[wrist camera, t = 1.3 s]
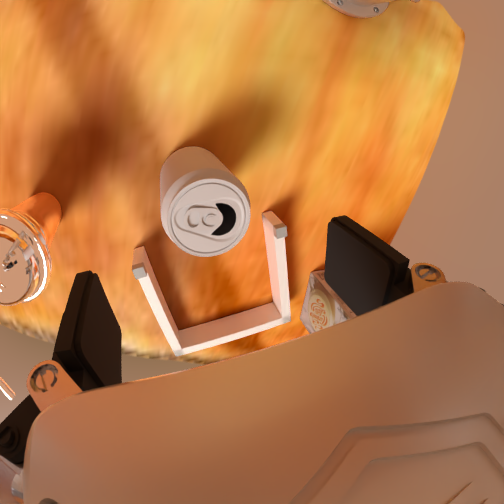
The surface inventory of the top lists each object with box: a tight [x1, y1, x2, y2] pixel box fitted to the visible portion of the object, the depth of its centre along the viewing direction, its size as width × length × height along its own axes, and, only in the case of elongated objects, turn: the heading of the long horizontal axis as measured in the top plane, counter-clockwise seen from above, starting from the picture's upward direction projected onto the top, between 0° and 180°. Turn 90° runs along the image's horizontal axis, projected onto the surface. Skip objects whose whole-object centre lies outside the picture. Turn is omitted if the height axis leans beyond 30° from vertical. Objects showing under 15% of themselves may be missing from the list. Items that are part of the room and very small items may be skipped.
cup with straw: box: [0, 192, 62, 400], centre depth 17 cm, size 8×9×20 cm
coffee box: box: [300, 270, 357, 333], centre depth 37 cm, size 9×6×16 cm
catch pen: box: [132, 211, 291, 356], centre depth 34 cm, size 16×15×4 cm
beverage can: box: [160, 146, 250, 257], centre depth 24 cm, size 6×6×12 cm
